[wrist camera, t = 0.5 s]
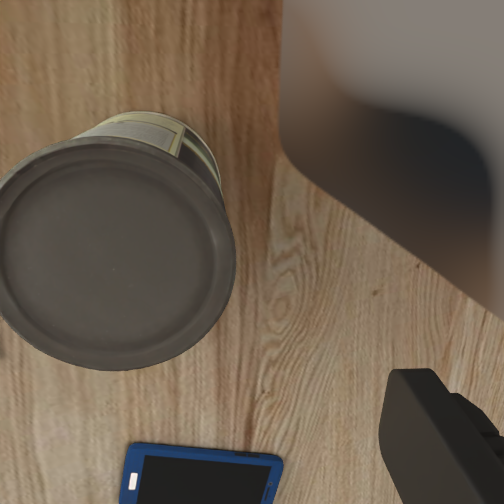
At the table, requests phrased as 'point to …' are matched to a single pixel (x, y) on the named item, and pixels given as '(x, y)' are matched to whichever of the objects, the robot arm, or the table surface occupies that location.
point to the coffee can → (116, 244)
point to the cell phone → (198, 476)
